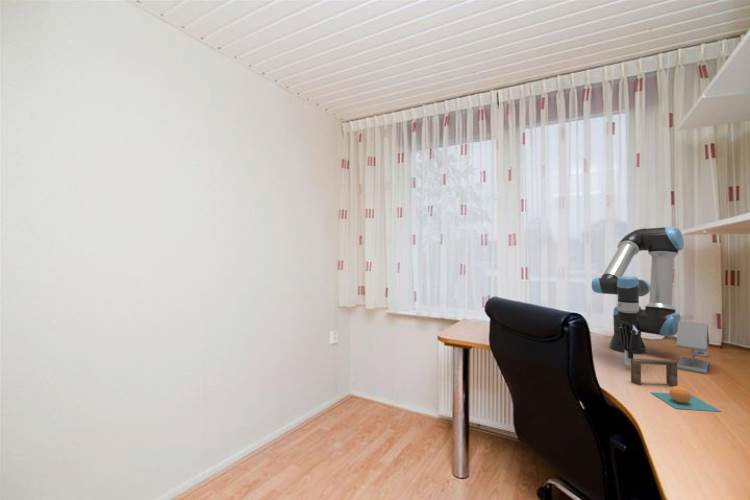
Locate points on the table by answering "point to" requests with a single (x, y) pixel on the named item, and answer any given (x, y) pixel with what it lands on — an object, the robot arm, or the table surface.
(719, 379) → the table surface
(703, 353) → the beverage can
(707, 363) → the folded metal stand
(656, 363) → the bridge
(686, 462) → the table surface
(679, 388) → the ball
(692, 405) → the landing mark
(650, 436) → the table surface
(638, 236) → the robot arm
